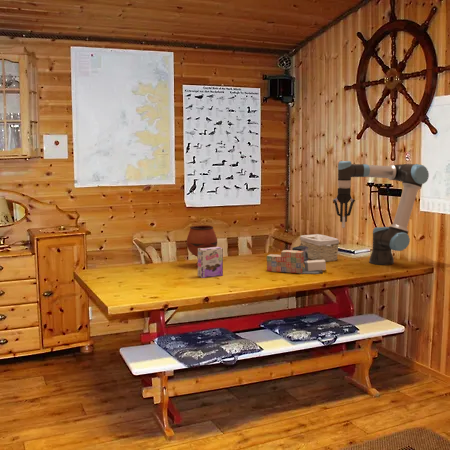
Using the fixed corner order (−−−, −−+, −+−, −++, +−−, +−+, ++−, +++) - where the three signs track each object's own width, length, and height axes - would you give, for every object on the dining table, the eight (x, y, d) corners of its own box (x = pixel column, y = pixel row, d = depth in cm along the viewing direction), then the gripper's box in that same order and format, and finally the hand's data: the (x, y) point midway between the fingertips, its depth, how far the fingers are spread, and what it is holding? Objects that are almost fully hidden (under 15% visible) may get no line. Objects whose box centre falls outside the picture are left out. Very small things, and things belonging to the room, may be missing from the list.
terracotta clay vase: (181, 267, 357) (181, 227, 353) (194, 262, 374) (194, 223, 371) (210, 270, 349) (209, 229, 346) (222, 264, 367) (221, 225, 364)
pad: (319, 268, 353) (319, 266, 353) (322, 274, 337) (322, 272, 337) (297, 268, 353) (297, 266, 353) (299, 274, 338) (299, 272, 337)
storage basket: (339, 260, 376) (340, 238, 374) (319, 263, 369) (319, 240, 367) (318, 254, 397) (318, 233, 395) (298, 256, 391) (298, 235, 389)
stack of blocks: (266, 271, 346) (266, 251, 344) (270, 269, 351) (269, 249, 350) (301, 273, 337) (300, 252, 335) (304, 271, 342) (303, 250, 341)
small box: (300, 265, 363) (300, 248, 362) (291, 263, 367) (291, 247, 366) (308, 262, 371) (308, 246, 370) (299, 261, 375) (300, 245, 374)
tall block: (324, 259, 347) (304, 260, 348) (325, 261, 341) (305, 262, 342) (324, 267, 347) (304, 269, 348) (325, 269, 342) (305, 271, 342)
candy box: (201, 278, 328) (201, 249, 326) (197, 276, 333) (197, 248, 331) (223, 275, 334) (223, 247, 332) (218, 273, 340) (218, 246, 337)
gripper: (354, 187, 341) (353, 226, 344) (332, 187, 342) (331, 226, 345) (356, 188, 334) (355, 228, 337) (333, 188, 334) (333, 228, 337)
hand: (343, 227), depth 341 cm, fingers closed
